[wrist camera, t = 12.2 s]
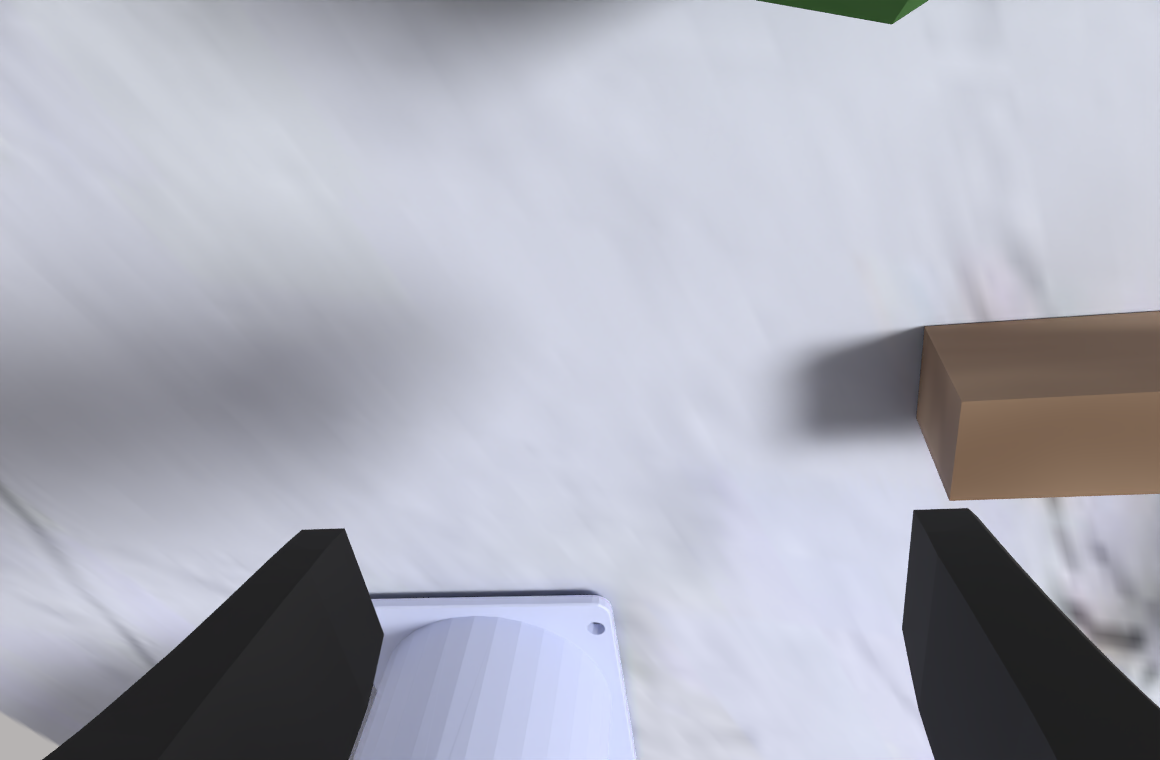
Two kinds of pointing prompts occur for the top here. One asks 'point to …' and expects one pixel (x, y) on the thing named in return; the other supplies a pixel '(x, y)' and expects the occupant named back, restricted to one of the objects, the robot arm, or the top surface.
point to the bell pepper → (858, 8)
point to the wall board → (1043, 406)
